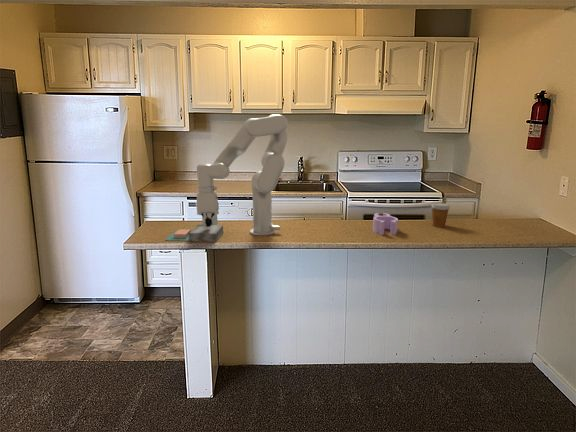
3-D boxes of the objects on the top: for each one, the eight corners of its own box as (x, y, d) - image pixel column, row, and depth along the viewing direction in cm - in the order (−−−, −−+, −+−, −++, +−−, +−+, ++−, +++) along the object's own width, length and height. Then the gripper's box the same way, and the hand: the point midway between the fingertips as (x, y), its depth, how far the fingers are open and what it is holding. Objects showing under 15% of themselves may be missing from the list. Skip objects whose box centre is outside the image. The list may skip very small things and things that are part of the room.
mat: (197, 232, 231) (197, 231, 231) (188, 241, 216) (188, 240, 215) (175, 231, 232) (175, 231, 232) (164, 240, 216) (164, 240, 216)
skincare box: (218, 227, 241) (217, 200, 237) (207, 229, 237) (206, 201, 234) (211, 224, 247) (210, 197, 244) (201, 225, 244) (200, 198, 241)
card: (179, 229, 228) (179, 233, 228) (173, 234, 219) (173, 238, 220) (190, 229, 227) (191, 233, 228) (185, 234, 219) (186, 238, 219)
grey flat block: (223, 232, 230) (223, 225, 229) (216, 241, 215) (215, 233, 214) (198, 232, 231) (198, 224, 230) (189, 241, 215) (188, 233, 215)
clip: (368, 225, 246) (369, 213, 244) (391, 225, 246) (392, 213, 244) (375, 235, 227) (376, 222, 225) (400, 235, 227) (401, 222, 225)
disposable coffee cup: (451, 226, 242) (453, 205, 239) (437, 228, 239) (439, 206, 236) (440, 222, 251) (441, 201, 248) (426, 224, 247) (427, 203, 245)
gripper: (223, 187, 220) (225, 224, 225) (193, 188, 221) (196, 224, 226) (219, 190, 213) (222, 228, 217) (188, 191, 214) (192, 228, 219)
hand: (208, 226), depth 222 cm, fingers closed
